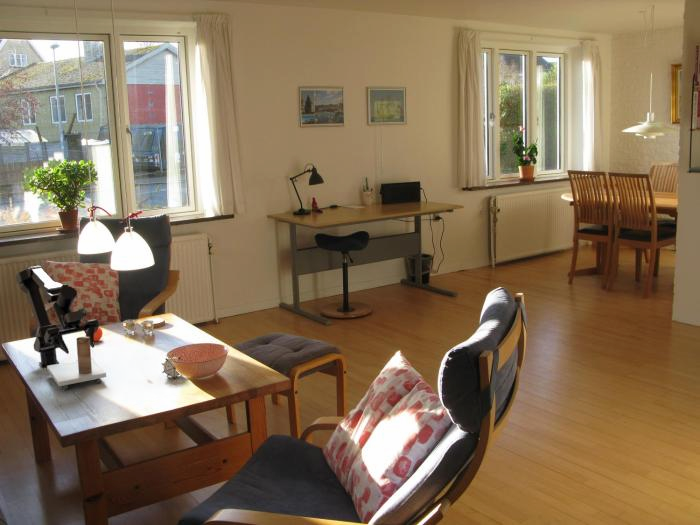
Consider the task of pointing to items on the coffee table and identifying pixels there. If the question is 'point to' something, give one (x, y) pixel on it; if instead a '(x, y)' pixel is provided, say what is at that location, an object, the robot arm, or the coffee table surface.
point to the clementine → (98, 334)
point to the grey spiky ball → (171, 367)
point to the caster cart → (74, 373)
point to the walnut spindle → (84, 355)
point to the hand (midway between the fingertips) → (80, 350)
